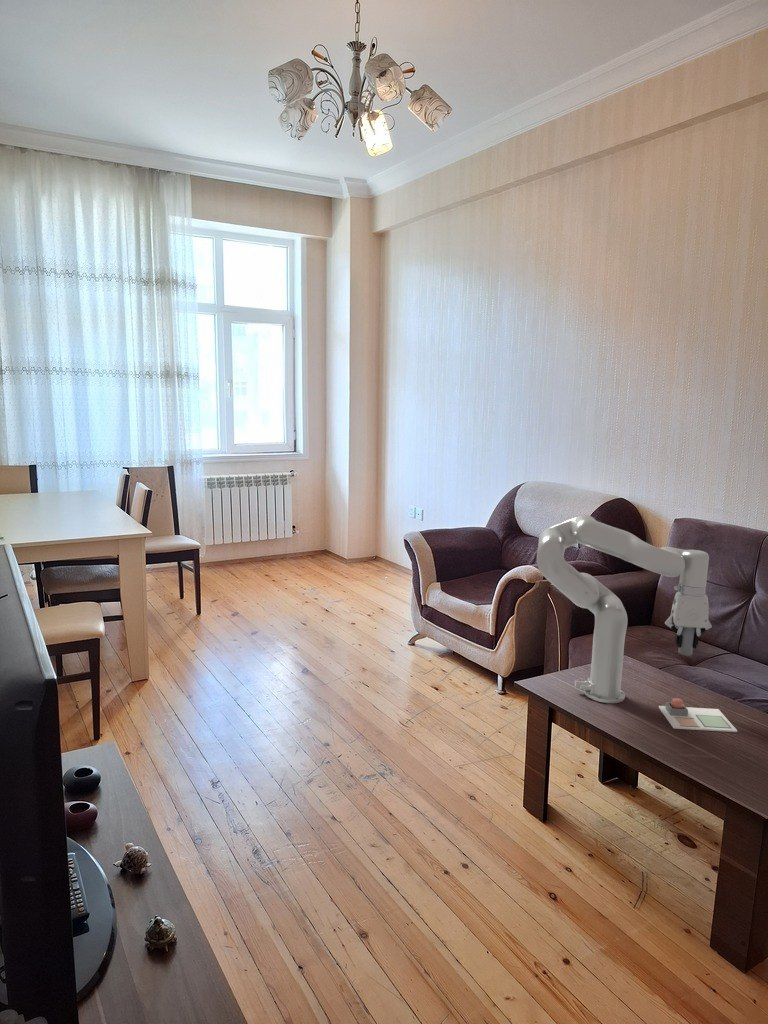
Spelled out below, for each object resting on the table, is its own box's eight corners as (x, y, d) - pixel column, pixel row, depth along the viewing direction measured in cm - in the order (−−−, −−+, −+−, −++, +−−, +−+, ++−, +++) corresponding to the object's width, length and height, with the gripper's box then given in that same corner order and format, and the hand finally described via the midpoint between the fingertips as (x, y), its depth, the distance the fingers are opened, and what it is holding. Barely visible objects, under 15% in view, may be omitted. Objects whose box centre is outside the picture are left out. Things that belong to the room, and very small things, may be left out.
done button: (673, 709, 207) (673, 702, 207) (669, 705, 210) (670, 697, 210) (683, 710, 207) (684, 702, 206) (680, 705, 210) (681, 698, 210)
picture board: (673, 728, 199) (674, 720, 199) (658, 707, 213) (659, 699, 213) (737, 732, 198) (738, 724, 198) (718, 710, 212) (719, 703, 211)
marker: (680, 655, 212) (683, 622, 210) (675, 650, 216) (679, 618, 214) (694, 656, 211) (698, 623, 210) (689, 651, 216) (693, 618, 214)
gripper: (667, 592, 207) (662, 649, 210) (724, 594, 206) (718, 652, 209) (660, 585, 215) (654, 640, 218) (715, 588, 213) (708, 643, 216)
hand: (685, 646), depth 213 cm, fingers closed on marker, 3 cm apart
